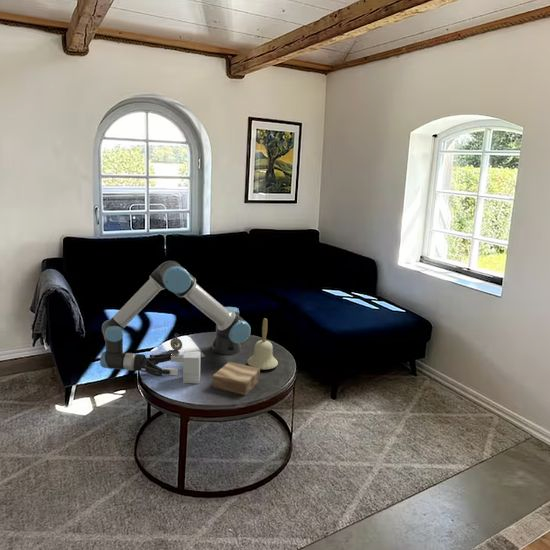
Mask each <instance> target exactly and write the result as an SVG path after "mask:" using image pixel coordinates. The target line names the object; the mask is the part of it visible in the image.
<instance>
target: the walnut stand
mask: <svg viewBox="0 0 550 550" xmlns="http://www.w3.org/2000/svg"><path fill="white" fill-rule="evenodd" d="M260 376H261V369H259V368H255V367H251V366H250V365H246V364H241V363H236V362H232V361H228V362H227V363H225V364H224V365H223V366H222V367H221V368H220V369H218V371H216V372H215V373H213V377H212V380H213V381H212V388H214V389H218V390H223V391H226V392H230V393H235V394H238V395H243V396H246V395H247V394H248V393H249V392H250V391H251V390H252V389H253V388H254V387H255V386H256V385H257V384H258V383H259V382H260V378H261V377H260Z"/></svg>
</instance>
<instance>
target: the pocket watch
mask: <svg viewBox="0 0 550 550" xmlns="http://www.w3.org/2000/svg"><path fill="white" fill-rule="evenodd" d="M173 336H174V338H172V339H170V343H169V344H170V347H171V348H172V349H169V350H167V351H166V353H165V354H167V353H171V354H172V355H171V356H180V350H181V349H182V348H183V342H182V340H181V339H180V338H178V337H179V336H180V335H179V334H178V333H174V335H173Z"/></svg>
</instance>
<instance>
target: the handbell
mask: <svg viewBox="0 0 550 550" xmlns="http://www.w3.org/2000/svg"><path fill="white" fill-rule="evenodd" d="M267 334H268V319H267V318H265V317H264V318H263V319H262V326H261V336H262V338H261V339H260V340H258V341H256V343H254V348H253V350H254V351H253V355H251V356H250V357H249V358H248V359H247V361H246V362H247V365H248V366H250V367H255V368H259V369H260V370H271V369H274V368H276V367H278V364H279V362H278V360H277V359H276V358H275V356H274V355H273V353H274V352H273V349H274V347H273V344H272V343H271V341H270V340H266V339H267Z"/></svg>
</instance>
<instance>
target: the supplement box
mask: <svg viewBox="0 0 550 550" xmlns="http://www.w3.org/2000/svg"><path fill="white" fill-rule="evenodd" d="M182 357H183V363H182V384H199V383H200V379H201V362H202V361H201V359H202V357H201V351H184V354H183V356H182Z"/></svg>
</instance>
